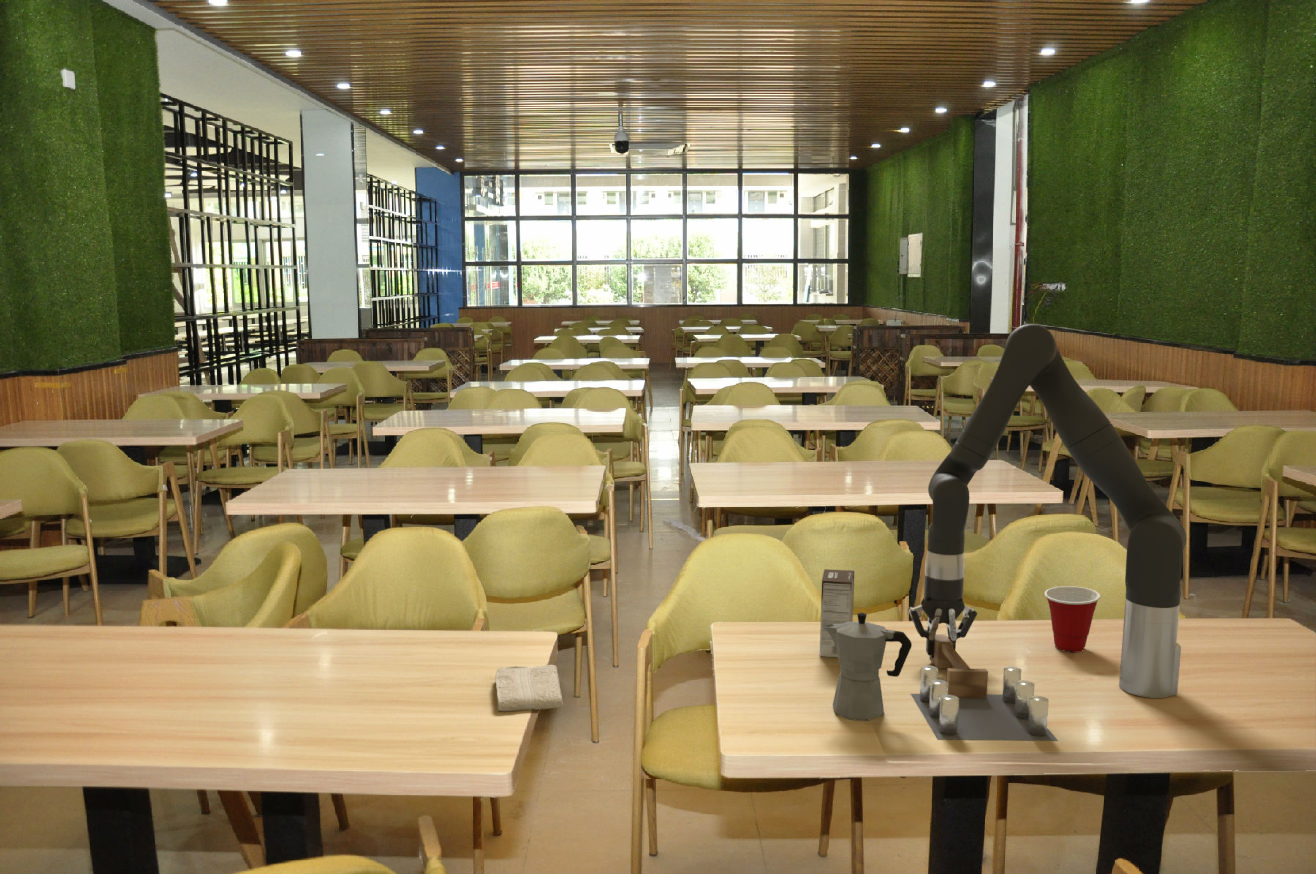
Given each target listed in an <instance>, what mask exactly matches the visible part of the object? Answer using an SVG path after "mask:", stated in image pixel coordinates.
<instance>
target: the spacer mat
mask: <svg viewBox="0 0 1316 874" xmlns="http://www.w3.org/2000/svg"><path fill="white" fill-rule="evenodd" d="M910 696H911V697H912V698H913V700H914V703H916V706H917V707H918V709H919V710H920V712H921V714H922V715H923V717H924V719H925V721H926V722H927V724H928V726H929V727H930V729H931V732H932V733H933V734H934V736H935V738H936V739H937V740H938V741H939V740H940V741H944V740H945V741H1014V742H1016V741H1021V742H1023V741H1025V742H1026V741H1027V742H1028V741H1029V742H1037V741H1038V742H1045V741H1046V742H1059V740H1058V739H1057V737H1055V735H1054V734H1053V733H1052V732H1051V730H1050V729H1049V728H1048V727H1047V733H1046V736H1043V737H1037V736H1033V735H1030V734H1029V733H1028V720H1023V719H1019V718H1016V717H1015V716H1014V714H1015V704H1008V703H1005V702H1003V701H1002V694H992V693H991V694H988V693H987V698H959V710H958V729H957V734H956V735H954V736H947V735H943V734H941V733H940V732H939V719H936V718H932V717H930V716H929V703H925V702H922V701H920V693H910Z"/></svg>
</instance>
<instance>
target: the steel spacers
mask: <svg viewBox="0 0 1316 874" xmlns="http://www.w3.org/2000/svg"><path fill="white" fill-rule="evenodd" d="M1002 680H1003V681H1002V683H1003V684H1002V693H1001V695H1002V701H1003V702H1005V703H1008V704H1015V714H1014V716H1015V717H1016V718H1019V719H1023V720H1028V733H1029V734H1030V735H1033V736H1037V737H1043V736H1046V733H1047V728H1048V719H1049V718H1048V716H1049V714H1048V713H1049V698H1048V697H1046V696H1041V695H1035V683H1034V682H1032V681H1029V680H1022V669H1021V668H1019V667H1018V666H1013V665H1012V666H1011V665H1008V666H1005V667H1003V679H1002ZM919 684H920V685H919V694H920V701H922V702H925V703H929V716H930V717H932V718H936V719H939V732H940V733H941V734H943V735H947V736H954V735H956V734H957V729H958V710H959V698H958V697H956V696H953V695H948V682H947V680H943V679H939V668H937V667H936V666H935V665H926V664H925V665H922V666H921V667H920V682H919Z"/></svg>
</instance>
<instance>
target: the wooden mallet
mask: <svg viewBox="0 0 1316 874" xmlns="http://www.w3.org/2000/svg"><path fill="white" fill-rule="evenodd" d="M934 641H935V647H934V658H931V657H930V656H929V659H930V661H931V662H932V663H933V664H934V665H933V666H934V667H937V668H938V669H947V673H946V674H947V675H946V682H948V695H953V696H956V697H958V698H987V694H988V680H989V679H988V678H989V671H988V670H987V669H986V668H971V667H970V666H969V665H968V664H967V662H965V660H964V659H963V658H962V657H961V655H960V654H959V653H958V651H956V649H955V650H954V648H953V643H952V641H951V640H950V639H949V638H948V635H946V634H945V633H944V634H943V633H939V634H938V633H936V635H935V639H934Z"/></svg>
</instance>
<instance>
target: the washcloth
mask: <svg viewBox="0 0 1316 874" xmlns="http://www.w3.org/2000/svg"><path fill="white" fill-rule="evenodd" d="M558 672H559V670H558V666H556V665H554V664H544V665H540V666H539V665H538V666H521V665H514V666H506V667H499V668H498V669H497V670H496V671H495V675H494V676H495V688H496V700H497V711H499V712H514V711H515V712H518V711H523V710H524V711H528V710H529V711H530V710H535V711H538V710H551V709H552V710H553V709H561V708H563V707H564V702H563V696H562V689H561V683H560V682H561V681H560V678H559V673H558Z"/></svg>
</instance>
